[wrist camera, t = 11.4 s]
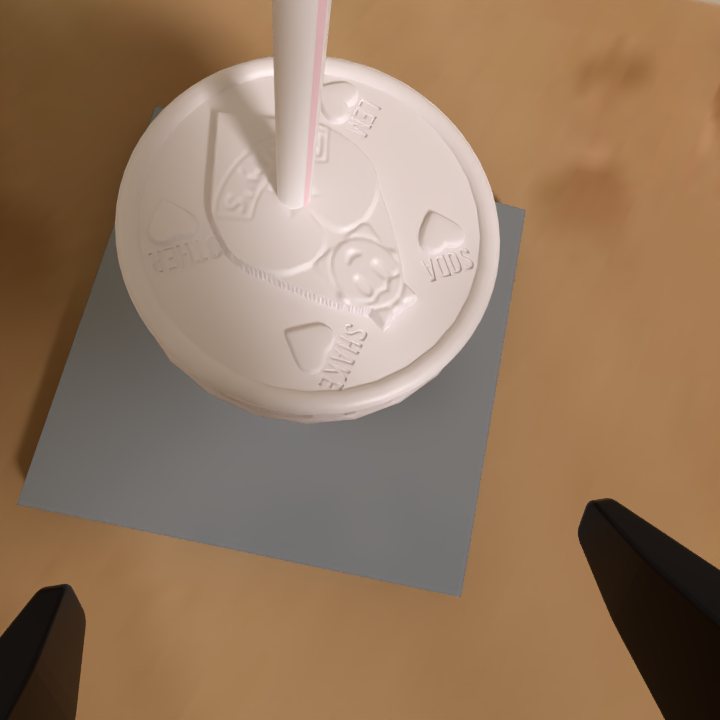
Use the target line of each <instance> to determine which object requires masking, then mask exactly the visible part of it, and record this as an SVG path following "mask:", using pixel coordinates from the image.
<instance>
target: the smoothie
mask: <svg viewBox="0 0 720 720" xmlns="http://www.w3.org/2000/svg"><path fill="white" fill-rule="evenodd" d="M331 1H332V0H272V27H273V56H271V57H265V58H259V59H254V60H250V61H247V62H243V63H239V64H236V65H233V66H231V67H228V68H225V69H223V70H220V71H218V72H216V73H214V74H212V75H210V76H208V77H206V78H204V79H202V80H201V81H199V82H197V83H196V84H194V85H193V86H191V87H189V88H188V89H187V90H185V91H184V92H183V93H181V94H180V95H179V96H177V97H176V98H175V99H174V100H173V101H172V102H171V103H170V104H168V105H167V106H166V107H165V108H164V109H163V110H162V111H161V112H160V113H159V115H158V116H157V117H156V118H155V119H154V120H153V121H152V123H151V124H150V125H149V127H148V128H147V129H146V131H145V132H144V134H143V135H142V137H141V138H140V140H139V142H138V143H137V145H136V147H135V149H134V150H133V152H132V154H131V157H130V159H129V161H128V164H127V166H126V168H125V171H124V174H123V178H122V181H121V184H120V188H119V193H118V199H117V204H116V216H115V237H116V248H117V254H118V261H119V265H120V269H121V273H122V276H123V280H124V283H125V285H126V288H127V290H128V293H129V296H130V298H131V300H132V302H133V304H134V306H135V308H136V310H137V312H138V314H139V316H140V317H141V319H142V320H143V322H144V323H145V325H146V326H147V328H148V329H149V331H150V332H151V334H152V335H153V336H154V337H155V339H156V340H157V342H158V343H159V345H160V346H161V348H162V349H163V351H164V352H165V354H166V355H167V356H168V358H169V359H170V361H171V362H172V363H174V364H175V365H176V366H177V367H178V368H179V369H181V370H182V371H183V372H184V373H185V374H187V375H188V376H189V377H190V378H191V379H193V380H194V381H195V382H196V383H197V384H198V385H200V386H201V387H202V388H203V389H204V390H206V391H207V392H208V393H209V394H211V395H213V396H215V397H218V398H220V399H222V400H224V401H226V402H228V403H231V404H233V405H235V406H237V407H239V408H241V409H244V410H246V411H248V412H250V413H252V414H254V415H258V416H264V417H269V418H275V419H281V420H287V421H293V422H298V423H304V424H309V423H320V422H331V421H342V420H353V419H357V418H360V417H363V416H365V415H368V414H371V413H373V412H376V411H379V410H381V409H384V408H387V407H389V406H392V405H395V404H397V403H400V402H402V401H403V400H404V399H406V398H407V397H408V396H410V395H411V394H413V393H414V392H415V391H417V390H418V389H419V388H421V387H422V386H424V385H425V384H426V383H428V382H429V381H431V380H432V379H433V378H435V377H436V376H437V375H438V374H439V373H440V372H441V370H442V369H443V368H444V367H445V366H446V365H447V364H448V363H449V362H450V361H451V360H452V359H453V358H454V357H455V356H456V355H457V354H458V353H459V352H460V351H461V349H462V348H463V347H464V345H465V344H466V343H467V341H468V340H469V339H470V337H471V336H472V334H473V333H474V331H475V329H476V328H477V326H478V324H479V323H480V321H481V319H482V317H483V315H484V312H485V310H486V308H487V306H488V303H489V300H490V298H491V295H492V292H493V289H494V284H495V280H496V276H497V271H498V263H499V252H500V235H499V222H498V216H497V210H496V205H495V201H494V197H493V194H492V190H491V187H490V185H489V182H488V179H487V177H486V174H485V172H484V170H483V168H482V166H481V164H480V162H479V160H478V158H477V156H476V155H475V153H474V151H473V150H472V148H471V146H470V145H469V143H468V142H467V140H466V139H465V138H464V136H463V135H462V134H461V132H460V131H459V130H458V129H457V127H456V126H455V125H454V124H453V123H452V122H451V121H450V120H449V118H448V117H447V116H446V115H445V114H444V113H442V112H441V111H440V110H439V109H438V108H437V107H436V106H435V105H434V104H433V103H431V102H430V101H429V100H428V99H426V98H425V97H424V96H423V95H421V94H420V93H418V92H417V91H415V90H414V89H412V88H411V87H409V86H408V85H406V84H404V83H403V82H401V81H399V80H397V79H395V78H394V77H392V76H389V75H387V74H385V73H383V72H381V71H378V70H376V69H373V68H370V67H368V66H365V65H362V64H359V63H355V62H351V61H347V60H344V59H338V58H333V57H327V56H326V50H327V40H328V31H329V21H330V11H331Z"/></svg>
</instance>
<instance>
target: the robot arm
mask: <svg viewBox="0 0 720 720" xmlns="http://www.w3.org/2000/svg"><path fill="white" fill-rule="evenodd" d="M578 537H579V541H580V544H581V546H582V549H583V551H584V554H585V556H586V558H587V561H588V563H589V566H590V568H591V570H592V573H593V575H594V578H595V580H596V583H597V585H598V587H599V590H600V592H601V595H602V597H603V600H604V602H605V604H606V607H607V609H608V611H609V614H610V616H611V618H612V620H613V622H614V624H615V626H616V628H617V630H618V632H619V634H620V636H621V638H622V640H623V642H624V644H625V645H626V647H627V649H628V651H629V653H630V655H631V657H632V659H633V660H634V662H635V664H636V666H637V668H638V670H639V672H640V674H641V675H642V677H643V679H644V681H645V683H646V685H647V687H648V689H649V690H650V692H651V694H652V696H653V698H654V700H655V702H656V704H657V705H658V707H659V709H660V711H661V713H662V715H663V717H664V719H665V720H720V570H719V569H717V568H716V567H714V566H713V565H711V564H710V563H708V562H707V561H705V560H704V559H702V558H701V557H699V556H698V555H696V554H695V553H693V552H692V551H690V550H689V549H687V548H686V547H684V546H683V545H681V544H680V543H678V542H677V541H675V540H674V539H672V538H671V537H669V536H668V535H666V534H665V533H663V532H662V531H660V530H659V529H657V528H656V527H654V526H653V525H651V524H650V523H648V522H647V521H645V520H644V519H642V518H641V517H639V516H638V515H636V514H635V513H633V512H632V511H630V510H629V509H627V508H626V507H624V506H623V505H621V504H620V503H618V502H617V501H615V500H613V499H610V498H604V499H598V500H592V501H590V502H589V503H588V504H587V505H586V508H585V511H584V514H583V516H582V519H581V522H580V525H579V528H578ZM85 626H86V619H85V613H84V610H83V608H82V606H81V604H80V602H79V600H78V598H77V596H76V594H75V592H74V590H73V589H72V587H71V586H70V585H68V584H61V585H55V586H48V587H44V588H42V589H40V590H39V591H38V592H37V593H36V594H35V595H34V596H33V597H32V598H31V600H30V601H29V602H28V603H27V605H26V606H25V607H24V608H23V610H22V611H21V612H20V613H19V615H18V616H17V617H16V618H15V620H14V621H13V622H12V623H11V624H10V626H9V627H8V628H7V629H6V631H5V632H4V633H3V634H2V636H1V637H0V720H75V717H76V709H77V700H78V691H79V682H80V673H81V664H82V654H83V645H84V636H85Z"/></svg>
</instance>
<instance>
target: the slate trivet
mask: <svg viewBox="0 0 720 720" xmlns="http://www.w3.org/2000/svg"><path fill="white" fill-rule="evenodd" d="M163 109H164V108H161V107H158V106H155V109H154V111H153V114H152V117H151V120H150V123H149V125H150V124H151V123H152V121H153V120H154V119H155V118H156V117H157V116H158V115H159V113H160V112H161V111H162V110H163ZM148 127H149V126H148ZM495 205H496V210H497V216H498V222H499V235H500V252H499V263H498V271H497V276H496V280H495V284H494V289H493V292H492V295H491V298H490V300H489V303H488V306H487V308H486V310H485V312H484V315H483V317H482V319H481V321H480V323H479V324H478V326H477V328H476V329H475V331H474V333H473V334H472V336H471V337H470V339H469V340H468V341H467V343H466V344H465V345H464V347H463V348H462V349H461V351H460V352H459V353H458V354H457V355H456V356H455V357H454V358H453V359H452V360H451V361H450V362H449V363H448V364H447V365H446V366H445V367H444V368H443V369H442V370H441V372H440V373H439V374H438V375H437V376H436V377H435V378H433V379H432V380H431V381H429V382H428V383H426V384H425V385H424V386H422V387H421V388H419V389H418V390H417V391H415V392H414V393H413V394H411V395H410V396H408V397H407V398H406V399H404V400H403V401H402V402H400V403H397V404H395V405H392V406H389V407H387V408H384V409H381V410H379V411H376V412H373V413H371V414H368V415H365V416H363V417H360V418H357V419H353V420H342V421H331V422H320V423H309V424H304V423H298V422H293V421H287V420H281V419H275V418H269V417H264V416H258V415H254V414H252V413H250V412H248V411H246V410H244V409H241V408H239V407H237V406H235V405H233V404H231V403H228V402H226V401H224V400H222V399H220V398H218V397H215V396H213V395H211V394H209V393H208V392H207V391H206V390H204V389H203V388H202V387H201V386H200V385H198V384H197V383H196V382H195V381H194V380H193V379H191V378H190V377H189V376H188V375H187V374H185V373H184V372H183V371H182V370H181V369H179V368H178V367H177V366H176V365H175V364H174V363H172V362H171V361H170V359H169V358H168V356H167V355H166V354H165V352H164V351H163V349H162V348H161V346H160V345H159V343H158V342H157V340H156V339H155V337H154V336H153V335H152V334H151V332H150V331H149V329H148V328H147V326H146V325H145V323H144V322H143V320H142V319H141V317H140V316H139V314H138V312H137V310H136V308H135V306H134V304H133V302H132V300H131V298H130V296H129V293H128V290H127V288H126V285H125V283H124V280H123V276H122V273H121V269H120V265H119V261H118V254H117V248H116V237H115V224H114V226H113V229H112V232H111V235H110V238H109V241H108V244H107V247H106V249H105V252H104V255H103V258H102V261H101V264H100V267H99V270H98V272H97V275H96V278H95V281H94V284H93V287H92V290H91V293H90V295H89V298H88V301H87V304H86V307H85V310H84V313H83V315H82V318H81V321H80V324H79V327H78V330H77V333H76V336H75V338H74V341H73V344H72V347H71V350H70V353H69V356H68V359H67V361H66V364H65V367H64V370H63V373H62V376H61V379H60V382H59V384H58V387H57V390H56V393H55V396H54V399H53V402H52V405H51V407H50V410H49V413H48V416H47V419H46V422H45V425H44V428H43V430H42V433H41V436H40V439H39V442H38V445H37V448H36V451H35V453H34V456H33V459H32V462H31V465H30V468H29V471H28V474H27V476H26V479H25V482H24V485H23V488H22V491H21V494H20V497H19V499H18V502H17V505H22V506H26V507H31V508H36V509H41V510H45V511H50V512H55V513H60V514H65V515H69V516H74V517H79V518H84V519H89V520H93V521H98V522H103V523H108V524H113V525H117V526H122V527H127V528H132V529H137V530H141V531H146V532H151V533H156V534H160V535H165V536H170V537H175V538H180V539H184V540H189V541H194V542H199V543H204V544H208V545H213V546H218V547H223V548H228V549H232V550H237V551H242V552H247V553H252V554H256V555H261V556H266V557H271V558H275V559H280V560H285V561H290V562H295V563H299V564H304V565H309V566H314V567H319V568H323V569H328V570H333V571H338V572H343V573H347V574H352V575H357V576H362V577H367V578H371V579H376V580H381V581H386V582H390V583H395V584H400V585H405V586H410V587H414V588H419V589H424V590H429V591H434V592H438V593H443V594H448V595H453V596H458V597H461V594H462V588H463V582H464V576H465V570H466V564H467V558H468V552H469V546H470V540H471V534H472V528H473V522H474V516H475V510H476V504H477V498H478V492H479V486H480V480H481V474H482V468H483V462H484V456H485V450H486V444H487V438H488V432H489V426H490V420H491V414H492V408H493V402H494V396H495V390H496V384H497V379H498V373H499V367H500V361H501V355H502V349H503V343H504V337H505V331H506V325H507V319H508V313H509V307H510V301H511V295H512V289H513V283H514V277H515V271H516V265H517V259H518V253H519V247H520V241H521V235H522V229H523V223H524V217H525V211H526V210H523V209H520V208H516V207H513V206H509V205H506V204H502V203H499V202H495Z"/></svg>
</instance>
